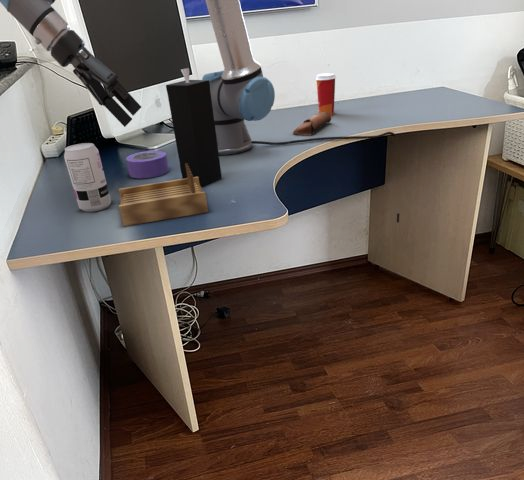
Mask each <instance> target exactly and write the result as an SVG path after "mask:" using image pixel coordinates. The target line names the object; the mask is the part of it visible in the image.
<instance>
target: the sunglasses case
mask: <svg viewBox="0 0 524 480" xmlns="http://www.w3.org/2000/svg"><path fill="white" fill-rule="evenodd" d="M331 121H332V115H330V114H329V113H328V112H321V113H319V112H318V113H315V114H314V115H312V116H310V117H307V118H306V119H305V120H303V122H302V123H301V124H300V125H298V126H297V127H296V128H295V129H294V130H293V131H292V134H294V135H299V136H312V135H313V134H314V133H316V132H317V131H318V130H319V129H320V128H321V127H323V126H324V125H326V124H329V123H331Z"/></svg>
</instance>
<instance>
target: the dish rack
mask: <svg viewBox="0 0 524 480" xmlns="http://www.w3.org/2000/svg"><path fill="white" fill-rule="evenodd" d="M185 167H186V172H187V178H184V179H182V178H179V179H173V180H167V181H160V182H154V183H146V184H141V185H135V186H128V187H121V188H118V193H119V197H120V204H119V205H118V209H119V213H120V217H121V221H122V225H123V227H128V226H133V225H134V226H135V225H141V224H146V223H152V222H158V221H165V220H171V219H175V218H176V219H177V218H182V217H188V216H194V215H200V214H207V213H209V206H208V199H207V193H206V191H203V189H202V186H200V184H199V177H198V176H197V177H193V174H192V173H191V171H190V169H189V166H188V163H186V164H185Z"/></svg>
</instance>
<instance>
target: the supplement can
mask: <svg viewBox="0 0 524 480" xmlns="http://www.w3.org/2000/svg"><path fill="white" fill-rule="evenodd" d="M63 158H64V162H65V165H66V169H67V171H68V175H69V178H70V182H71V185H72V189H73V192H74V195H75V199H76V203H77V206H78V208H79V210H82V211H83V212H86V213H87V212H89V213H90V212H91V213H92V212H98V211H103V210H105V209H107V208H109V207H110V205H111V203H112V198H111V194H110V191H109V187H108V183H107V180H106V174H105V172H104V167H103V163H102V159H101V155H100V151H99V149H98V148H97V147H96V145H95V144H94V143H92V142H81V143H77V144H72V145H69V146H67V147H65V148H64V154H63Z"/></svg>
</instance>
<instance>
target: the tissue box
mask: <svg viewBox="0 0 524 480" xmlns="http://www.w3.org/2000/svg"><path fill="white" fill-rule="evenodd" d="M180 72H181V73H182V75H183V78H184V80H182V81H177V82H172V83H168V84H165V88H166V94H167V99H168V105H169V111H170V116H171V117H170V118H171V122H172V128H173V134H174V139H175V144H176V145H175V146H176V150H177V156H178V162H179V167H180V173H181V179H184V178H187V172H186V167H185V164H186V163H188V166H189V169H190V171H191V173H192V174H193V177H197V176H198V177H199V184H200V186H201V187H204V186H207V185H209V184H212V183H214V182H217V181H220V180H221V179H223V176H222V169H221V162H220V160H221V159H220V155H219V153H218V145H217V138H216V130H215V123H214V115H213V107H212V100H211V92H210V83H209V80H202V79H190V68H189V67H186V68H182V69H180Z"/></svg>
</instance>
